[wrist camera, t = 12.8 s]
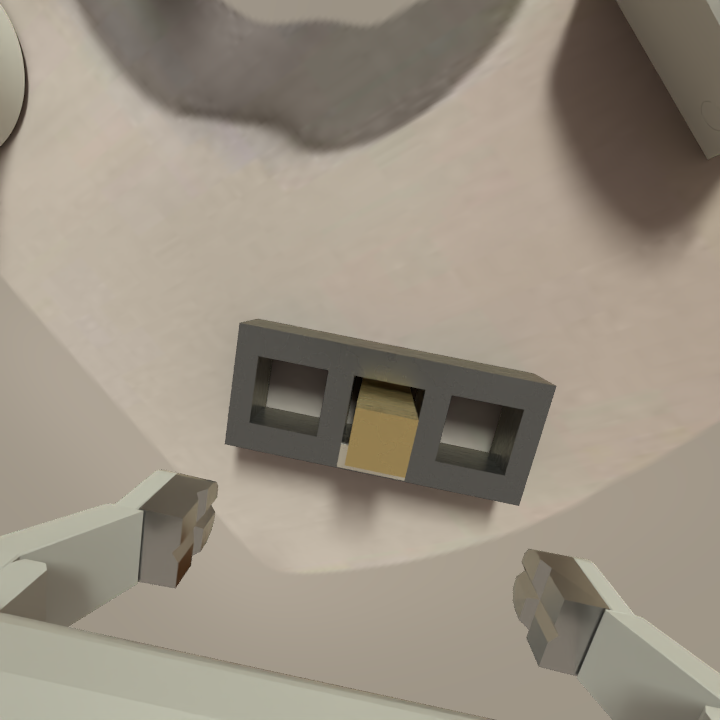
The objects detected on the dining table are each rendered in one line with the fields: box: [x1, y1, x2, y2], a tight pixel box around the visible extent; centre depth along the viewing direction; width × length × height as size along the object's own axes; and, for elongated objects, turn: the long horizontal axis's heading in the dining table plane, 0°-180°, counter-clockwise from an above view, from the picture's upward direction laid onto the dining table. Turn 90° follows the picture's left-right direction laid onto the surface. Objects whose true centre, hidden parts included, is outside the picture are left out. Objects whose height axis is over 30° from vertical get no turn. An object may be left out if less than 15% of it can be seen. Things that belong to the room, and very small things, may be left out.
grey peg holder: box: [225, 319, 556, 506], centre depth 29 cm, size 24×10×4 cm, turn 79°
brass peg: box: [345, 377, 419, 478], centre depth 27 cm, size 4×4×9 cm
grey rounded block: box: [616, 0, 720, 160], centre depth 21 cm, size 17×5×10 cm, turn 37°
